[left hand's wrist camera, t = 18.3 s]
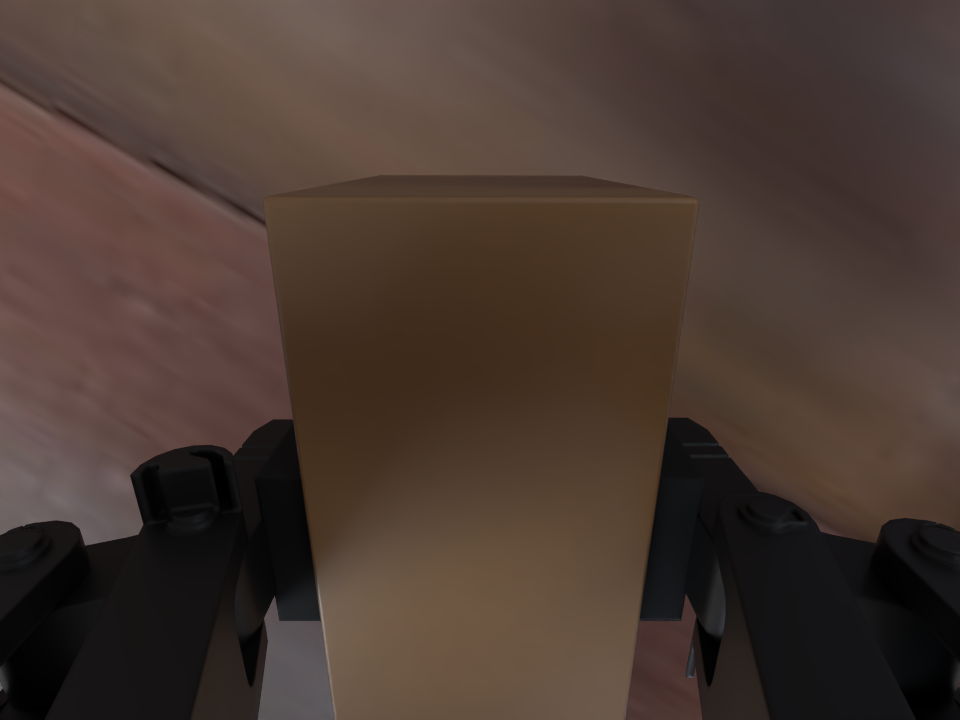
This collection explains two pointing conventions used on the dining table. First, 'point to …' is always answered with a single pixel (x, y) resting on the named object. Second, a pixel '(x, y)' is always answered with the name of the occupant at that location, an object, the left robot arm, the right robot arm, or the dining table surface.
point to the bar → (480, 432)
